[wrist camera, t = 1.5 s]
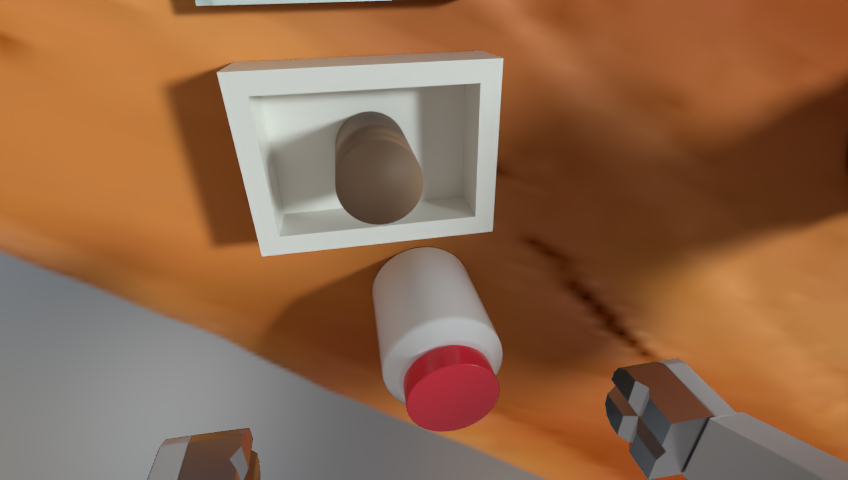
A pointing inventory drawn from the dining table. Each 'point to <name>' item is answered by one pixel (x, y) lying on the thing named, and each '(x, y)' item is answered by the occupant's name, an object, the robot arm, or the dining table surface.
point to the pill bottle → (435, 340)
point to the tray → (265, 2)
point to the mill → (376, 169)
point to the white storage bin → (318, 127)
